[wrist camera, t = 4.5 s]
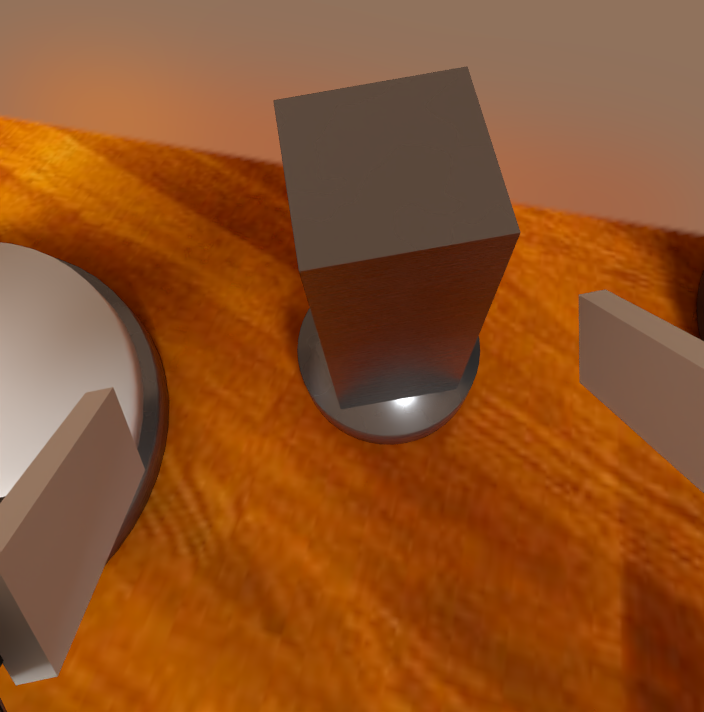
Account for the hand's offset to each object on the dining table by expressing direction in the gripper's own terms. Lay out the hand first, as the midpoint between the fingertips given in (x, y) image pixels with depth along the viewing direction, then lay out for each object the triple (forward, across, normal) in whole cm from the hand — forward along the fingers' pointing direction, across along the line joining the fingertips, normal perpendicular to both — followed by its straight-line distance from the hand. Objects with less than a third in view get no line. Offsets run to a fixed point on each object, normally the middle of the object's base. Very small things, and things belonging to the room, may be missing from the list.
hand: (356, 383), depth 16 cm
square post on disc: (+10, +2, -4) cm, 11 cm away
